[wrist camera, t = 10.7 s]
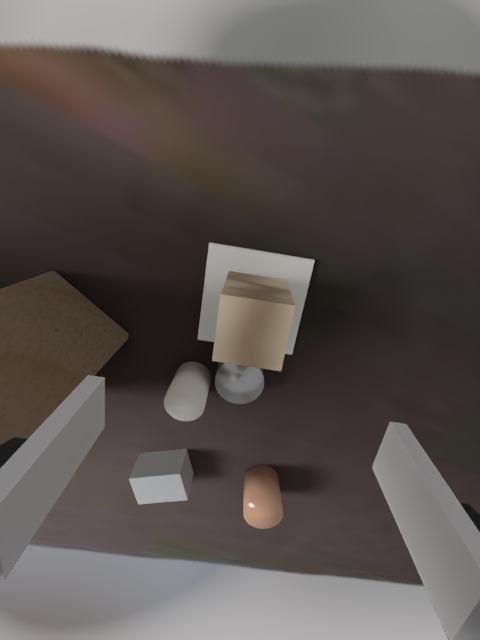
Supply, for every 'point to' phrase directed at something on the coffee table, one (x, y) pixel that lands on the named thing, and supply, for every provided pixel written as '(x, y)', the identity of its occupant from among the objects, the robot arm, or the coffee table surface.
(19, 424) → the wooden block
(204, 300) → the coaster
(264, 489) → the peach capsule
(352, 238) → the coffee table surface
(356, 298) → the coffee table surface
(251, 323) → the maple block
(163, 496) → the grey box
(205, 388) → the grey rounded cylinder
